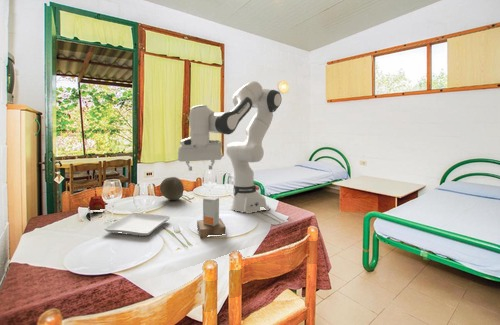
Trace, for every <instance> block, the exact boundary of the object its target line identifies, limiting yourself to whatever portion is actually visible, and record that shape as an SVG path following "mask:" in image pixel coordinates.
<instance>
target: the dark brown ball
mask: <svg viewBox="0 0 500 325" xmlns="http://www.w3.org/2000/svg"><path fill="white" fill-rule="evenodd" d="M184 189H185V187H184V184H183V182H182V181H181V179H180V178H178V177H176V176H171V177H166V178H164V179H163V180H162V181H161V183H160V186H159V190H160V193H161V195H162V196H163V197H164V198H166V199H167V200H169V201H177V200H179V199H181V198H182V196H183V194H184Z"/></svg>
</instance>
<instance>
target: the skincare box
mask: <svg viewBox="0 0 500 325" xmlns="http://www.w3.org/2000/svg"><path fill="white" fill-rule="evenodd" d="M202 199H203V200H202V210H203V211H202V220H203V224H207V225H212V226H215V225H217V224H218V223H219V218H220V198H219V197H217V196H216V197H215V196H209V195H207V196H205V197H203V198H202Z"/></svg>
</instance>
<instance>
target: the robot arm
mask: <svg viewBox="0 0 500 325" xmlns="http://www.w3.org/2000/svg"><path fill="white" fill-rule="evenodd" d="M282 99H283V98H282V94H281V93H280V91H278V90H276V89H269V88H268V89H267V88H263V86H262V85H261V84H260V83H259V82H258V81H254V80H253V81H250V82H248V83H246V84H244V85H243V86H241V87H239V89H237V90H236V91H235V92H234V93H233V95H232V103H233V105H234V107H233V108H232V110H230V111H227V112H225V111H224V112H216V111H213V110H212V109H210V108H209V107H208V105H206V104H198V105H193V106H192V107H190V111H189V116H188V117H189V120H188V121H189V127H190V132H189V137H186V138H183V139H180V140H179V143H180V145H179V147H178V151H177V160H178V161H179V162H185V164H186V165H187V167H188V172H191V171H193V166H192V165H190V162H198V161H199V162H200V161H202V162H203V161H210V162H211V163H210V164H209V165H208V170H213V166H214V164H215V161H218V160H220V161H221V159H222V158H223V154H222V147H223V145H222V142H221V140H212V139H211V140H210V134H223V135H232V134H233V133H234V132H235V131H236V129H237V127H238V125H239V124H240V122H241V121H242V120H243V118H244V117H246V115H247V114H248V113H249V112H250V110H251V109H252V108H254V109H255V108H256V109H257V110H256V113H255V114H254V116H253V117H252V118H251V120H250V122H249V124H248V126H247V127H246V129H245V134H246V139H245V140H244V141H238V140H237V141H233V142H230V143H228V144H227V147H226V149H225V150H226V155H227V156H228V157H229V160H230V161H231V164H232V168H233V176H234V177H233V178H234V180H233V181H234V183H233V187H232V189H233V190H232V191H233V200H232V205H231V208H230V209H231V210H232V211H234V210H235V211H234V212H237V211H243V212H247V213H249V214H253V213H252V212H255V213H258V212H257V211H260V207H264V208H265V209H266V211H269V209H271V208H270V205H268V204H267V202H266V198H265V196H263V195H262V194H261V193H259V190H260V186H258V185H255V184H254V179H255V178H254V177H255V176H254V170H253V169H252V168H251V166H250V164H249V163H258V162H260V161H261V160H262V159H263V158H264V148H263V139H264V137H265V136H266V133H267V132H268V130H269V128H270V127H271V126H270V125H271V123H272V122H273V118H274V113H275V112H276V111H277V109H278V108H279V107H280V105H281V104H282ZM243 212H242V213H243ZM247 213H246V214H247Z"/></svg>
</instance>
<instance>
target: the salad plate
mask: <svg viewBox="0 0 500 325" xmlns="http://www.w3.org/2000/svg"><path fill="white" fill-rule="evenodd" d="M170 218H171V216H169V215H161V214H152V213H141V212H132V213H130V214H128V215H126V216H125V217H122V218H121V219H119V220H117V221H115V222H113V223H111V224H110V225H108V226H105V227H104V228H103V229H104V231H105V232H108V233H110V234H111V233H112V234H118V232H122V233H127V234H132V235H131V236H138V235H139V236H140V237H147V236H148V235H151V234H152V233H153V232H154V231H156V230H157V229H158V228H160V226H162V225H163V224H165V223H166V222H167V221H169V220H170ZM134 230H137V231H149V232H148V233H140V232H133V231H134ZM127 234H126V235H127Z"/></svg>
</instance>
